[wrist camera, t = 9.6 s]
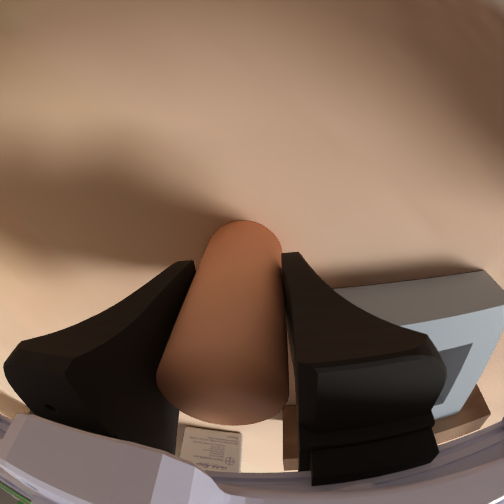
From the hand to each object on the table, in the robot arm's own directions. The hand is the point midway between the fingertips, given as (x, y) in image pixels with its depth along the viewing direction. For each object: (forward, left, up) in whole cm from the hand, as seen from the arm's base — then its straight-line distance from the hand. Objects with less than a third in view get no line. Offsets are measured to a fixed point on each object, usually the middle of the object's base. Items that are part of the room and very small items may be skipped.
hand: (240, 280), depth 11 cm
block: (-8, +6, -2) cm, 10 cm away
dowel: (0, 0, -2) cm, 2 cm away
